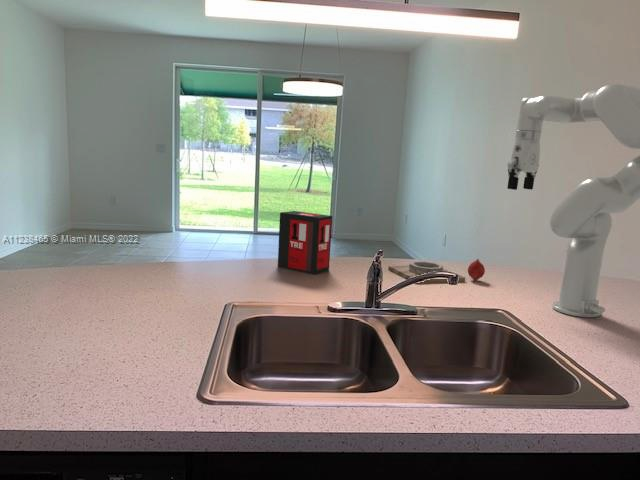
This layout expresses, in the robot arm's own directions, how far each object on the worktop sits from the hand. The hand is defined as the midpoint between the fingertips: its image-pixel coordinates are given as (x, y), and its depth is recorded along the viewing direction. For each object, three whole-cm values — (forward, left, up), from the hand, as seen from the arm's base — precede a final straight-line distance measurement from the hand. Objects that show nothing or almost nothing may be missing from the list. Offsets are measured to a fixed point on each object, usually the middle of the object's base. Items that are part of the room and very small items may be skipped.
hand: (520, 189), depth 168 cm
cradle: (+19, +21, -34) cm, 44 cm away
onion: (+10, +6, -34) cm, 36 cm away
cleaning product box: (+34, +63, -34) cm, 79 cm away
